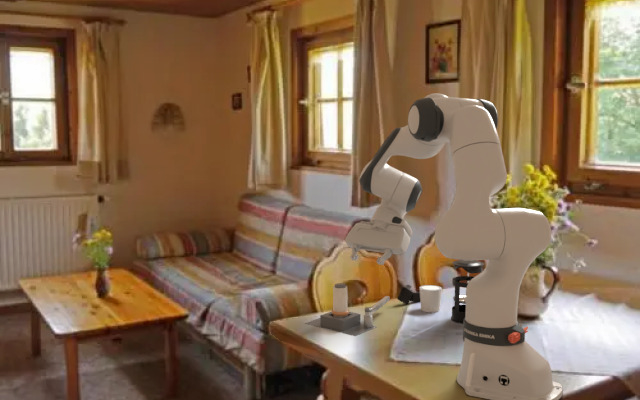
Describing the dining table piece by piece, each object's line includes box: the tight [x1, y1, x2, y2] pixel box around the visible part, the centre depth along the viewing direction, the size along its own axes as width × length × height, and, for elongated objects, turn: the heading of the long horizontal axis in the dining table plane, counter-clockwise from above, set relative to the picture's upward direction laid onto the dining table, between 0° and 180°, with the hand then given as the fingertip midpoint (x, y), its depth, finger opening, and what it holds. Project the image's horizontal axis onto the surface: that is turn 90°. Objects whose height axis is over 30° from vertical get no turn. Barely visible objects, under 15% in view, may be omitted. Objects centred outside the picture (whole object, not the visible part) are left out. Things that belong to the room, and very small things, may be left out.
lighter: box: [396, 284, 421, 305], centre depth 215 cm, size 9×2×6 cm
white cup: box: [419, 284, 443, 313], centre depth 208 cm, size 7×7×7 cm
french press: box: [450, 260, 485, 325], centre depth 196 cm, size 12×9×23 cm
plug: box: [331, 282, 350, 318], centre depth 189 cm, size 5×5×12 cm
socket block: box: [304, 310, 377, 337], centre depth 190 cm, size 18×10×4 cm, turn 50°
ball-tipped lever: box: [364, 295, 391, 316], centre depth 195 cm, size 18×2×2 cm, turn 156°
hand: (366, 261), depth 197 cm, fingers open, 8 cm apart
